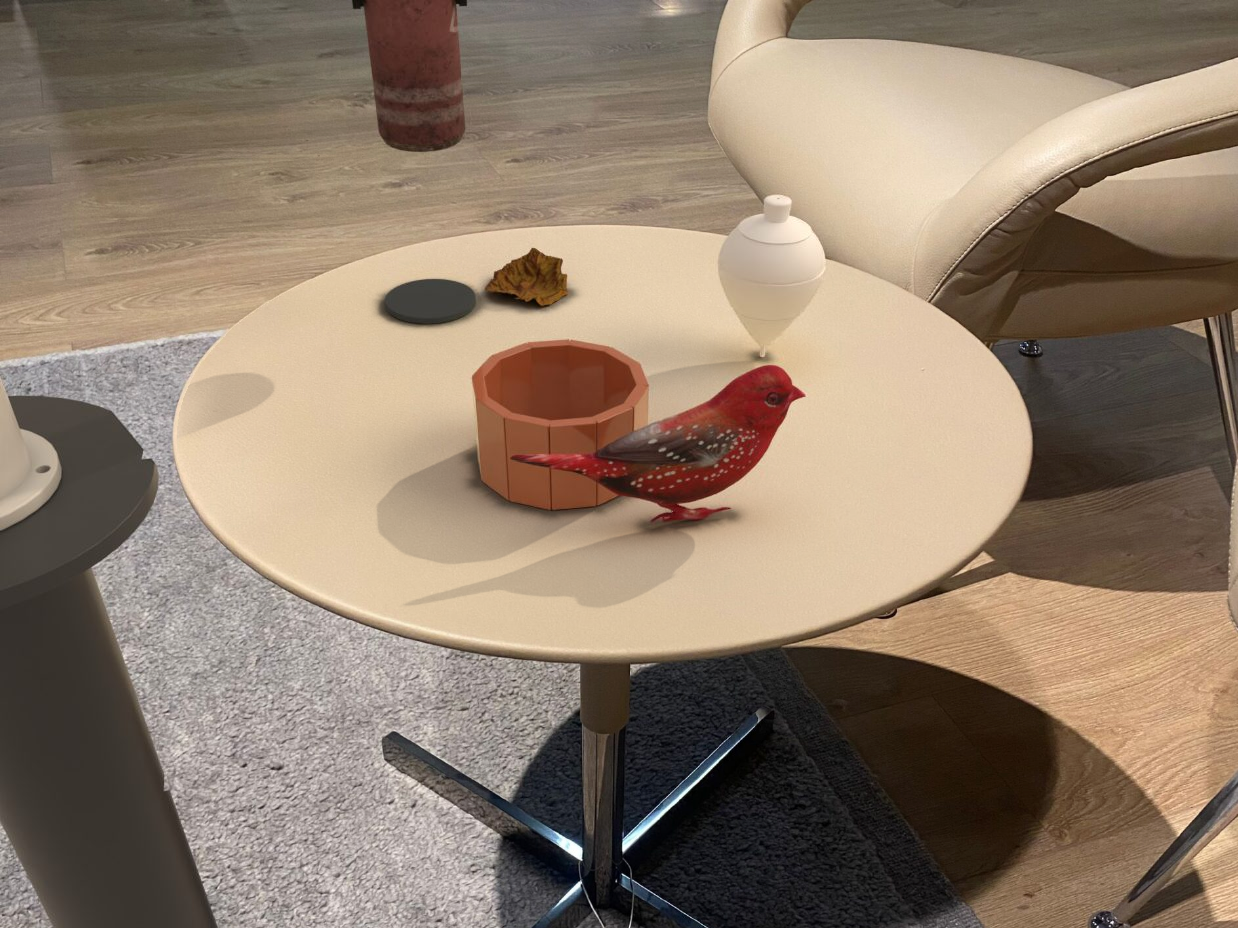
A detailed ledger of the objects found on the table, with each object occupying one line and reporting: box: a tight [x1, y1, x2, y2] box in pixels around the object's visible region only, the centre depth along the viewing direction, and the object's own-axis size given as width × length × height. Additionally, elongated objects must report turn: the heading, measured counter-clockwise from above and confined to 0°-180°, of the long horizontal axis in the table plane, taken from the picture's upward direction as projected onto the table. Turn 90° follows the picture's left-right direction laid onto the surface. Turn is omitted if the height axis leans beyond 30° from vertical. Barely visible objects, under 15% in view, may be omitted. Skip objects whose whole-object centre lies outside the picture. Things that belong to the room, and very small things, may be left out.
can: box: [363, 0, 466, 153], centre depth 81 cm, size 6×6×14 cm
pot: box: [471, 338, 650, 511], centre depth 76 cm, size 11×11×6 cm
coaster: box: [384, 278, 477, 325], centre depth 95 cm, size 7×7×1 cm
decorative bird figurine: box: [510, 364, 807, 523], centre depth 70 cm, size 3×18×10 cm, turn 105°
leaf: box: [484, 247, 569, 307], centre depth 97 cm, size 6×7×2 cm
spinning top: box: [717, 194, 826, 358], centre depth 86 cm, size 8×8×12 cm
